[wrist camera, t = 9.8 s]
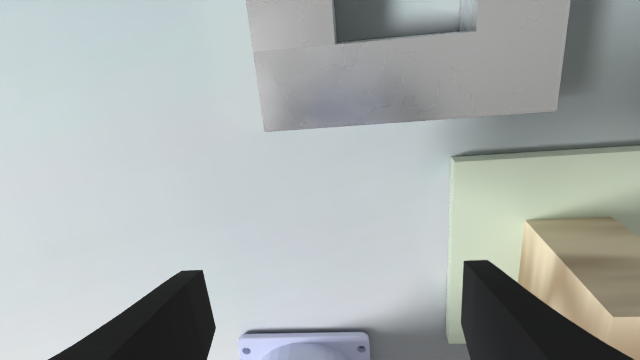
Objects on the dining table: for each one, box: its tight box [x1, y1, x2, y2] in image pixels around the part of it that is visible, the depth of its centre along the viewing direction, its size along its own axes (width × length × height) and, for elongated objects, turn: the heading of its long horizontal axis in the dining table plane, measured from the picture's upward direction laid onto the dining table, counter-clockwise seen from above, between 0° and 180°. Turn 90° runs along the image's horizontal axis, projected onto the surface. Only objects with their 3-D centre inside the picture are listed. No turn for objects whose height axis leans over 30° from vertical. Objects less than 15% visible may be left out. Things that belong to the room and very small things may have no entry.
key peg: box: [518, 217, 640, 360], centre depth 17 cm, size 4×4×7 cm
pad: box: [445, 145, 640, 344], centre depth 20 cm, size 11×11×1 cm
